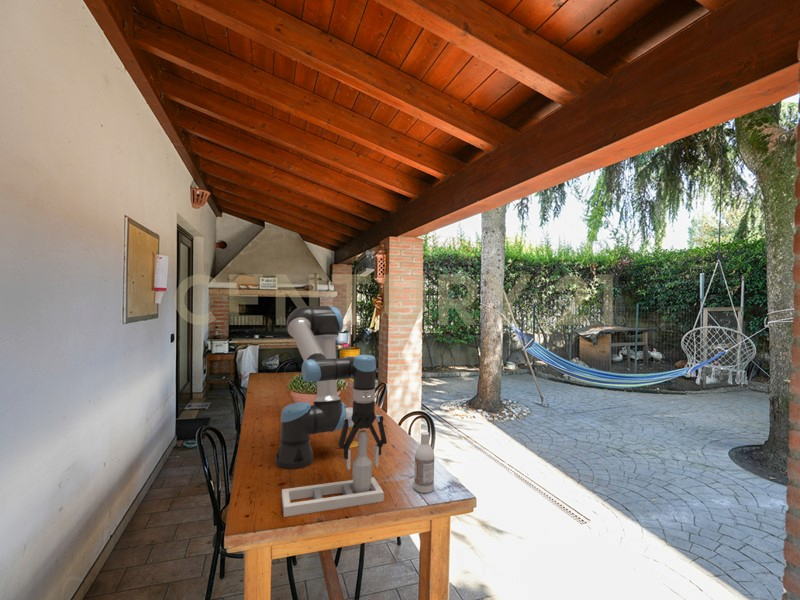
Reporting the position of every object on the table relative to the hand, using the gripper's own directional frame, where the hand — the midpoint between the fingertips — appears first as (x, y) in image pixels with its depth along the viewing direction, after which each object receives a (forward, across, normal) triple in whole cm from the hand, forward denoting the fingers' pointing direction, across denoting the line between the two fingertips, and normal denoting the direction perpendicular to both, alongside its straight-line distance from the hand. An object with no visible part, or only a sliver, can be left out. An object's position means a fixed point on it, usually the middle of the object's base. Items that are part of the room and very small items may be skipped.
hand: (362, 466), depth 134 cm
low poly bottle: (+10, 0, 0) cm, 10 cm away
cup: (+10, +7, +49) cm, 50 cm away
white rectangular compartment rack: (+10, -10, 0) cm, 14 cm away
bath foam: (+10, +22, -2) cm, 25 cm away
